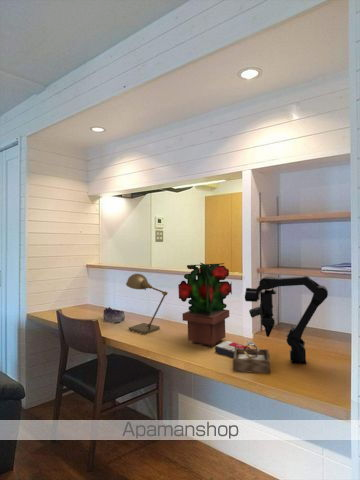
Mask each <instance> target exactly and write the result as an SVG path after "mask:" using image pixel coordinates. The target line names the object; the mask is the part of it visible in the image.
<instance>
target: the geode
mask: <svg viewBox="0 0 360 480" xmlns="http://www.w3.org/2000/svg"><path fill="white" fill-rule="evenodd" d="M102 317H103V321H104V322H105V321H106V322H108V321H109V323H113V324H119V323H120V322H122V321H124V320H125V319H126V314H125V312H124V310H118V309H113V308H111V307H110V306H109V307H105V308H104V309H103V316H102Z"/></svg>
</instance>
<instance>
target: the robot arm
mask: <svg viewBox="0 0 360 480" xmlns="http://www.w3.org/2000/svg"><path fill="white" fill-rule="evenodd" d="M292 286H295V287H296V286H304V287H306V288H307V289H308V290H309V291H310V292H311V293H313V294H312V297H311V300H310V302H309V304H308V306H307V307H306V308H305V311H304V312H303V314H302V316H301V317H300V319H299V321H298V323H297V324H296V325H295V326H290V330H289V331H288V332H287V333H286V335H285V337H286V342H287V345H288V346H289V347H290V350H289V359H290V362H291V363H292V364H299V365H305V364H308V363H307V360H306V358H307V357H306V355H307V353H306V351H307V350H306V348H305V345H306V342H305V340H303V339H302V336H303V335H304V334H303V333H304V332H305V331H304V330H305V329H306V327H307V325H308V324H309V322H310V321H311V319H312V317H313V316H314V315H315V312H316V311H317V309H318V307H320V306H321V304H322V303H324V302H325V300H326V299H327V298H328V296H329V293H328V292H329V290H328V288H327V287H326V286H325V285H321V284H319V283H318V282H316V281H314V280H313V279H311V277H309V276H308V275H304V276H293V277H292V276H291V277H275V276H264V277H262V278H261V279H260V280H259V283H258V286H257V287H256V288H251V287H246V288H245V294H244V301H245V302H250V303H251V302H252V303H254V302H255V303H258V301H259V300H260V303H259V306H256V307H254V308H250V309H249V315H250V317H251V319H253V318H255V317H258V316H260V324H261V326H263V327H264V331H265V335H266V337H267V338H269V337H270V335H271V332H272V331H273V328H274V326H275V324H276V323H275V318H274V309H273V308H274V305H273V295H276V294H277V291H276V290H275V289H276V288H279V287H292ZM263 290H264V291H263Z"/></svg>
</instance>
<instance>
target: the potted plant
mask: <svg viewBox="0 0 360 480" xmlns="http://www.w3.org/2000/svg"><path fill="white" fill-rule="evenodd" d="M224 264H225V263H224V262H223V263H203V262H199V264H187V265H186V268H187V270H191V271H190V273H185V274H184V275H183V278H184V279H185V280H182V281H180V283H179V284H178V299H179V300H181V301H182V302H183V303H184V302H186V301H187V299H189V300H188V301H187V304H189V306H188V308H187V309H188V311H185V312H183V313H182V321H184V322H185V321H186V322H187V340H188V341H190V342H192V344H195V345H199V346H202V347H204V346H205V347H208V348H212V347H213V346H215V345H216V344H217V345H218V343H220V342H222V340H223V339H225V338H226V319H227V318H230V310H229V309H226V308H227V307H228V305H227V304H226V303H224V300H225V299H226V298H227V296H229V295H230V294H231V295H233V292H232V291H233V288H232V287H233V286H232V282H230V281H227V280H226V279H227V277H229V275H230V270H229V268H226V266H225V265H224ZM197 266H199V267H197ZM186 280H187V281H186ZM225 280H226V281H225Z"/></svg>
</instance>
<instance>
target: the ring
mask: <svg viewBox="0 0 360 480" xmlns="http://www.w3.org/2000/svg"><path fill="white" fill-rule="evenodd" d="M244 346H245V347H244V353H245V355H246V356H247V357H248V358H251V359H254V358H256V357H257V356H258V355H259V349H260V348H259V346H258V345H257V344H255V342H254V341H249V342H248V341H247V342H246V344H245V345H244ZM250 346H252V347H255V349H257V355H256V356H255V357H253V356H249V355H248V354H247V353H246V347H250Z"/></svg>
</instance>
